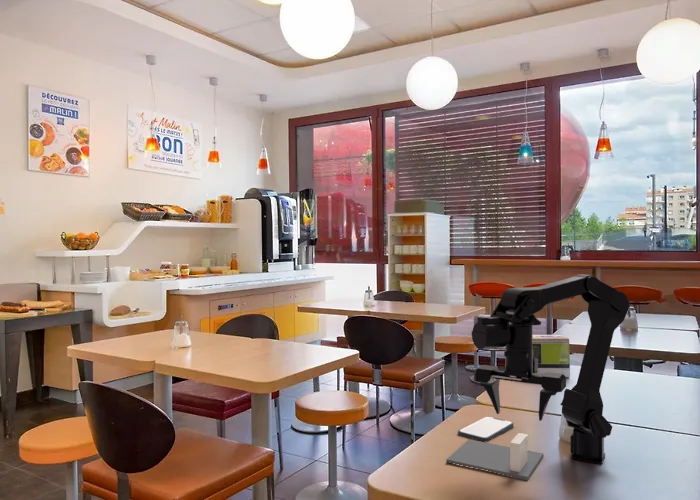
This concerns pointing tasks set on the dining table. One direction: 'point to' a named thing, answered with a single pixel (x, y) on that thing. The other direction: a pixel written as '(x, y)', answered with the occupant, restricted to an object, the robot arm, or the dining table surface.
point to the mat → (493, 458)
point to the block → (518, 452)
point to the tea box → (551, 354)
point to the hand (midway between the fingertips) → (519, 416)
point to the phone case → (486, 428)
